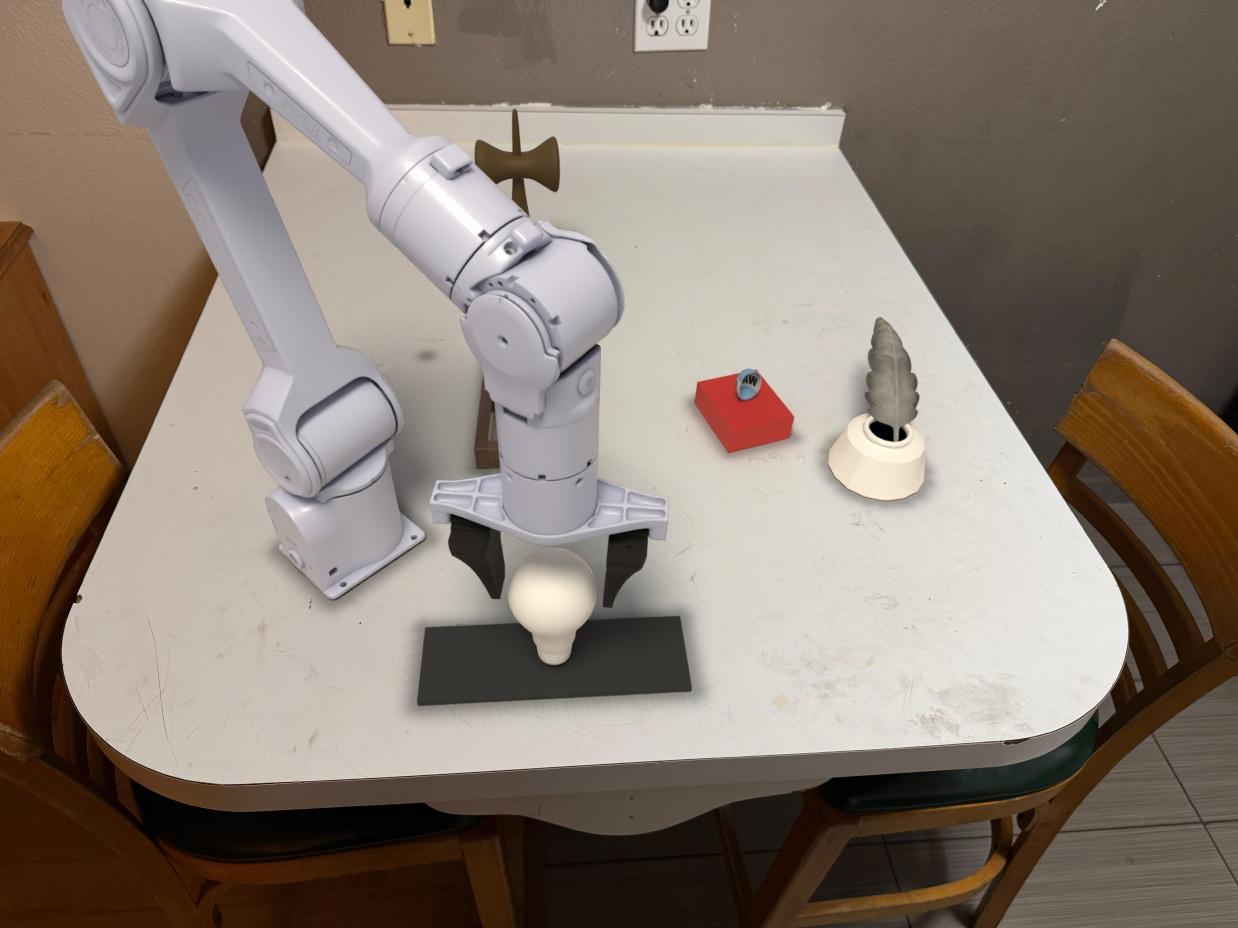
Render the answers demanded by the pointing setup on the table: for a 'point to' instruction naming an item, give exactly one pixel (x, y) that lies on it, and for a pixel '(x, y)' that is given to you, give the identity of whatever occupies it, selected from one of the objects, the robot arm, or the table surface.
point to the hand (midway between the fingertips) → (553, 591)
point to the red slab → (743, 410)
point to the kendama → (520, 164)
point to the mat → (513, 670)
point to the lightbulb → (552, 599)
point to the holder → (486, 433)
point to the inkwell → (883, 427)
